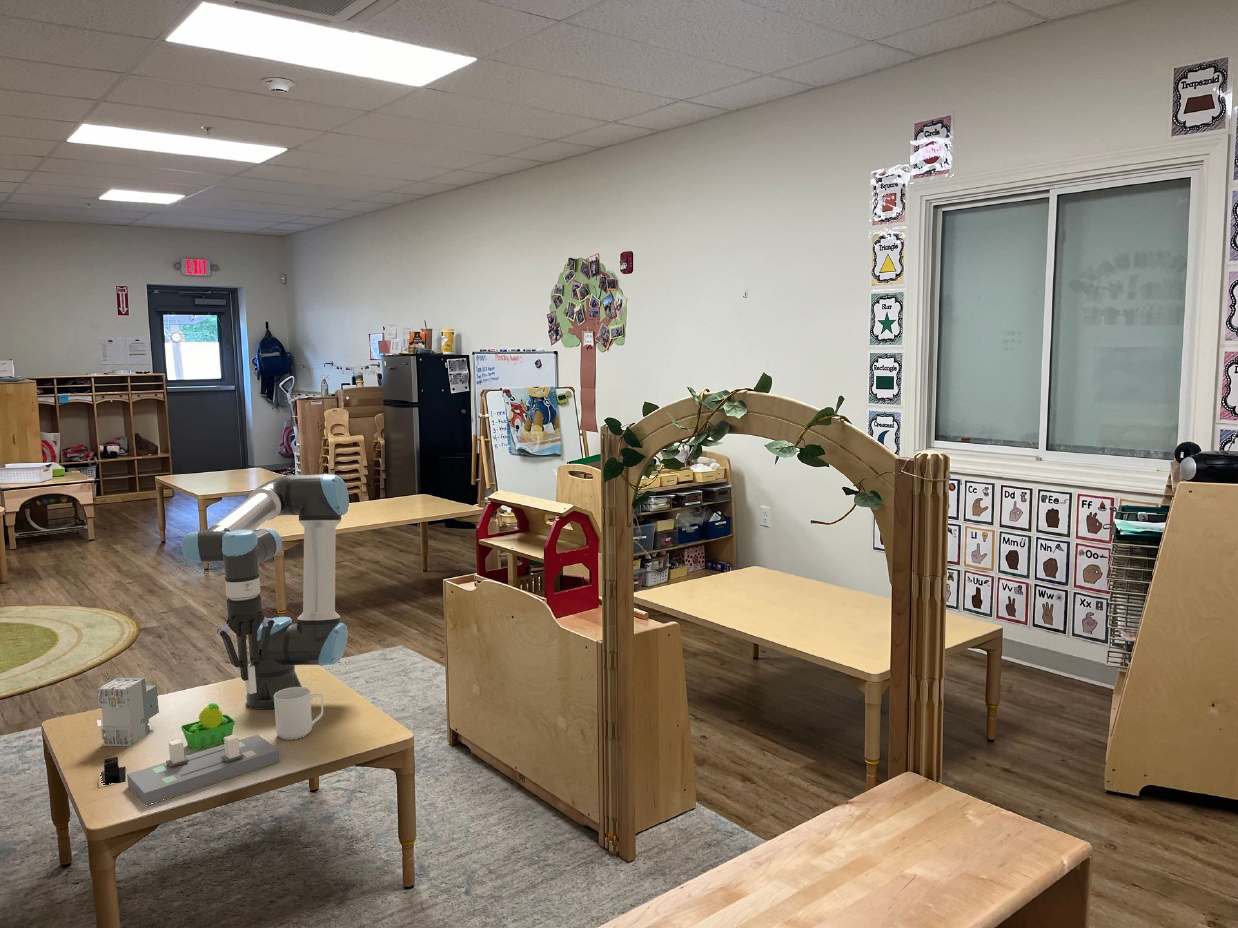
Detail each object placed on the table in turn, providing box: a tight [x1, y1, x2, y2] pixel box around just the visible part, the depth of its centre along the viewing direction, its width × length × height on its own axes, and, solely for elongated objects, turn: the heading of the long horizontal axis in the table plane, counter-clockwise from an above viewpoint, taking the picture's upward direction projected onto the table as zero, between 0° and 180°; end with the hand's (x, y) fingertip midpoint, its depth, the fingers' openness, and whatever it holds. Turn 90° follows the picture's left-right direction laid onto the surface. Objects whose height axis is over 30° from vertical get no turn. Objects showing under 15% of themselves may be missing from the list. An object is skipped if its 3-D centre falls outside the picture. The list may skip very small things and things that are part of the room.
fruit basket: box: [180, 702, 236, 751], centre depth 227 cm, size 11×9×11 cm
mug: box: [274, 686, 324, 741], centre depth 233 cm, size 12×9×11 cm
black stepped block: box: [100, 756, 127, 786], centre depth 210 cm, size 12×7×5 cm, turn 29°
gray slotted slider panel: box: [126, 734, 281, 806], centre depth 211 cm, size 30×13×3 cm, turn 134°
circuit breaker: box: [97, 677, 160, 747], centre depth 234 cm, size 8×14×15 cm, turn 174°
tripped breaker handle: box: [221, 733, 244, 762], centre depth 211 cm, size 4×3×5 cm
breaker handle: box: [165, 738, 189, 767], centre depth 209 cm, size 4×3×5 cm
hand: (251, 691), depth 214 cm, fingers closed
